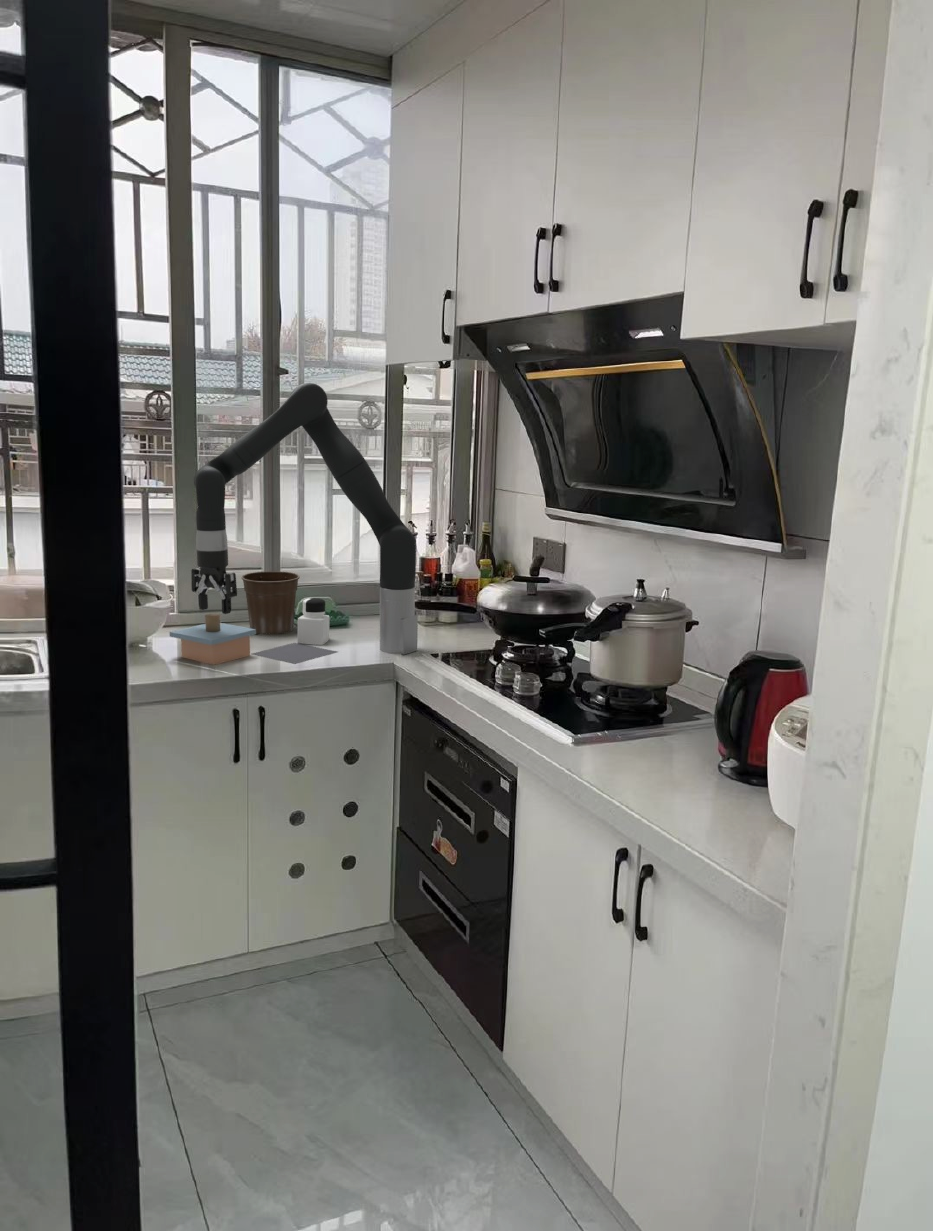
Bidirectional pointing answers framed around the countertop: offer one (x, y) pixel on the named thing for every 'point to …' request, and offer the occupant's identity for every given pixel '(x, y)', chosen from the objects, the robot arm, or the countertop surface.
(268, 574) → the plant pot
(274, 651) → the mat
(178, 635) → the lid
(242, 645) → the square orange box
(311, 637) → the medicine bottle
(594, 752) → the countertop surface
